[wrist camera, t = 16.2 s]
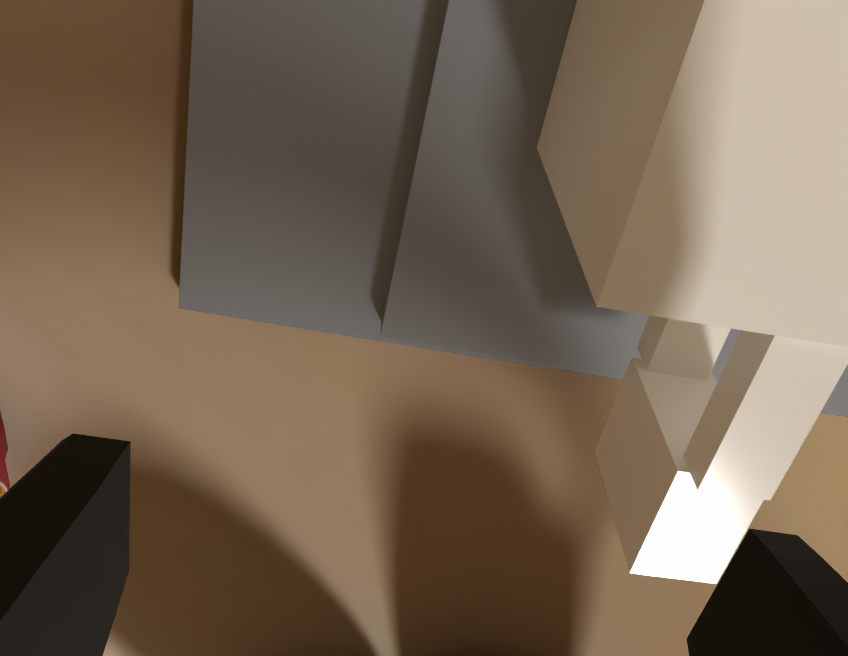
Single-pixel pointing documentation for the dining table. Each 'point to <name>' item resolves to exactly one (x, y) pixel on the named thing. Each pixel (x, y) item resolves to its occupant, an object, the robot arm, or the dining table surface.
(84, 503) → the robot arm
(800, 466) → the dining table surface
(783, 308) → the beige upright block
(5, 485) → the smoothie
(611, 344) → the board
